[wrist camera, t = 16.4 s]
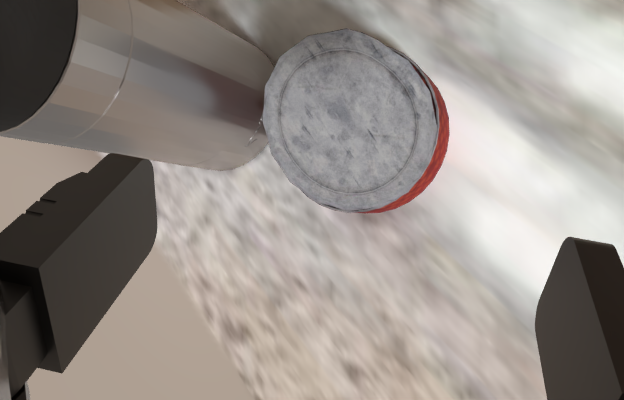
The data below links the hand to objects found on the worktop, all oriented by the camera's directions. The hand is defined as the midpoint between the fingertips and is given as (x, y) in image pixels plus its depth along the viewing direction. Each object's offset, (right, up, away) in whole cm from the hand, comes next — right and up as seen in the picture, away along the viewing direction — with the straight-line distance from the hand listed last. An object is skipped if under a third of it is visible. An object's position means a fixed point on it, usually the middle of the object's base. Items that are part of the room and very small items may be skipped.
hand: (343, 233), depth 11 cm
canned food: (+3, +5, +25) cm, 25 cm away
